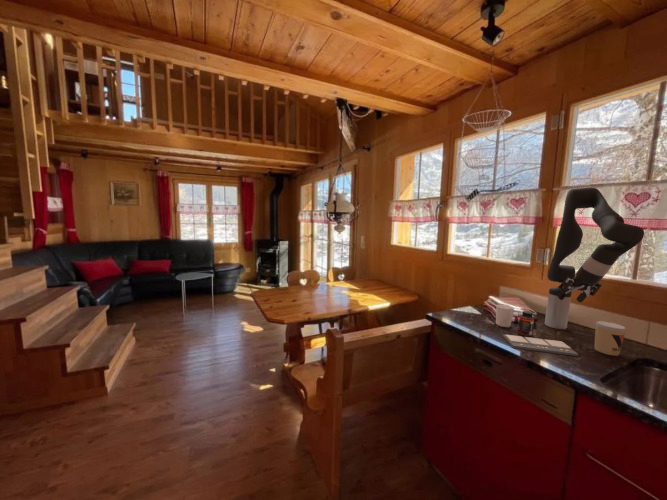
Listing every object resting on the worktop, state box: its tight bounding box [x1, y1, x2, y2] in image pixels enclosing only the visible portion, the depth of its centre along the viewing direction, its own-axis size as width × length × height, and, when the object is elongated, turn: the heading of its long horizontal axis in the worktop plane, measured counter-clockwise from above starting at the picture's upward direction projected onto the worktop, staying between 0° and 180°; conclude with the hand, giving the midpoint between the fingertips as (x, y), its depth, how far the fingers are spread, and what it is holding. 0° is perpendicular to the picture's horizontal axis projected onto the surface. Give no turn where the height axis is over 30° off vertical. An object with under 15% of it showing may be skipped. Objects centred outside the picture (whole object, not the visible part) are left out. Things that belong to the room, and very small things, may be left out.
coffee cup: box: [594, 320, 627, 357], centre depth 120 cm, size 9×9×12 cm
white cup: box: [495, 304, 515, 328], centre depth 147 cm, size 8×8×10 cm
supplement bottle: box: [517, 310, 535, 338], centre depth 135 cm, size 6×6×11 cm
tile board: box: [502, 334, 579, 357], centre depth 123 cm, size 12×24×2 cm, turn 77°
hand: (569, 299), depth 118 cm, fingers open, 8 cm apart
